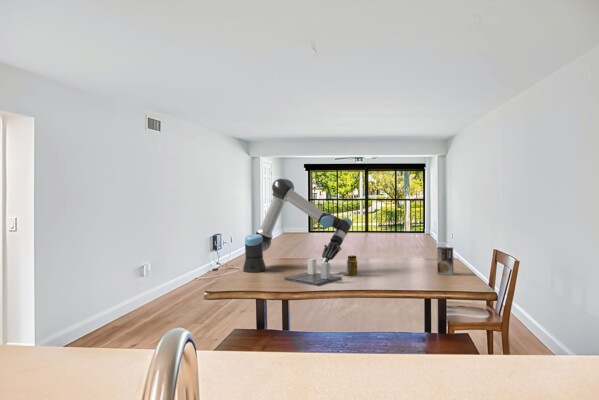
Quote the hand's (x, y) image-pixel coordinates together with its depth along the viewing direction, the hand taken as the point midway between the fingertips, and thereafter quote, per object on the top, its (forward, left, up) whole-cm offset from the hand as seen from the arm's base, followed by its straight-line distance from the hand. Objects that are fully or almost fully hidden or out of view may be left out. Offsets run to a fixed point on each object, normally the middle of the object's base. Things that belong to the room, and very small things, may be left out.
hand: (321, 267), depth 268 cm
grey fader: (+15, -14, -3) cm, 20 cm away
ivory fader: (0, -9, -3) cm, 9 cm away
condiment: (+16, +9, -5) cm, 19 cm away
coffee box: (+58, +49, -5) cm, 76 cm away
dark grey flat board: (+6, -15, -5) cm, 17 cm away
